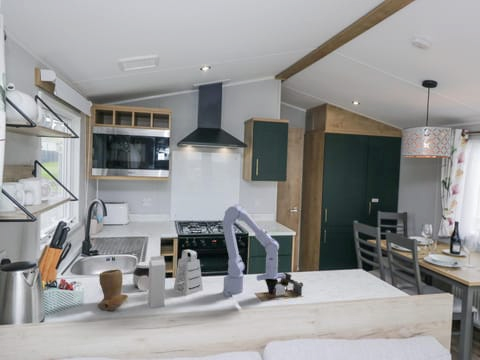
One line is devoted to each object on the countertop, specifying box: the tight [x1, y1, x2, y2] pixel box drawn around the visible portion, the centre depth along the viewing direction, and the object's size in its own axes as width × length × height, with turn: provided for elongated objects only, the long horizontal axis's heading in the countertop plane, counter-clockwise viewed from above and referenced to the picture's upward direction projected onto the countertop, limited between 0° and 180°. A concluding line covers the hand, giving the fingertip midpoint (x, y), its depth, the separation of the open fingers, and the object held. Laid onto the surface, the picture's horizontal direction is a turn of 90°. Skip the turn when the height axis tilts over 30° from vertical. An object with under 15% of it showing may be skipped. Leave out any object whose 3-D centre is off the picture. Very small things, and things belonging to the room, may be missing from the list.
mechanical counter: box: [279, 271, 304, 287], centre depth 177 cm, size 7×13×10 cm
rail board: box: [254, 280, 304, 302], centre depth 161 cm, size 22×10×6 cm, turn 109°
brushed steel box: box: [273, 283, 289, 297], centre depth 160 cm, size 7×7×4 cm
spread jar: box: [132, 261, 150, 292], centre depth 167 cm, size 12×11×12 cm
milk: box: [147, 255, 167, 309], centre depth 147 cm, size 6×6×22 cm
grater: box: [173, 248, 204, 296], centre depth 166 cm, size 10×10×20 cm
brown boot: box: [97, 268, 129, 312], centre depth 145 cm, size 15×12×15 cm
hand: (270, 293), depth 159 cm, fingers closed
